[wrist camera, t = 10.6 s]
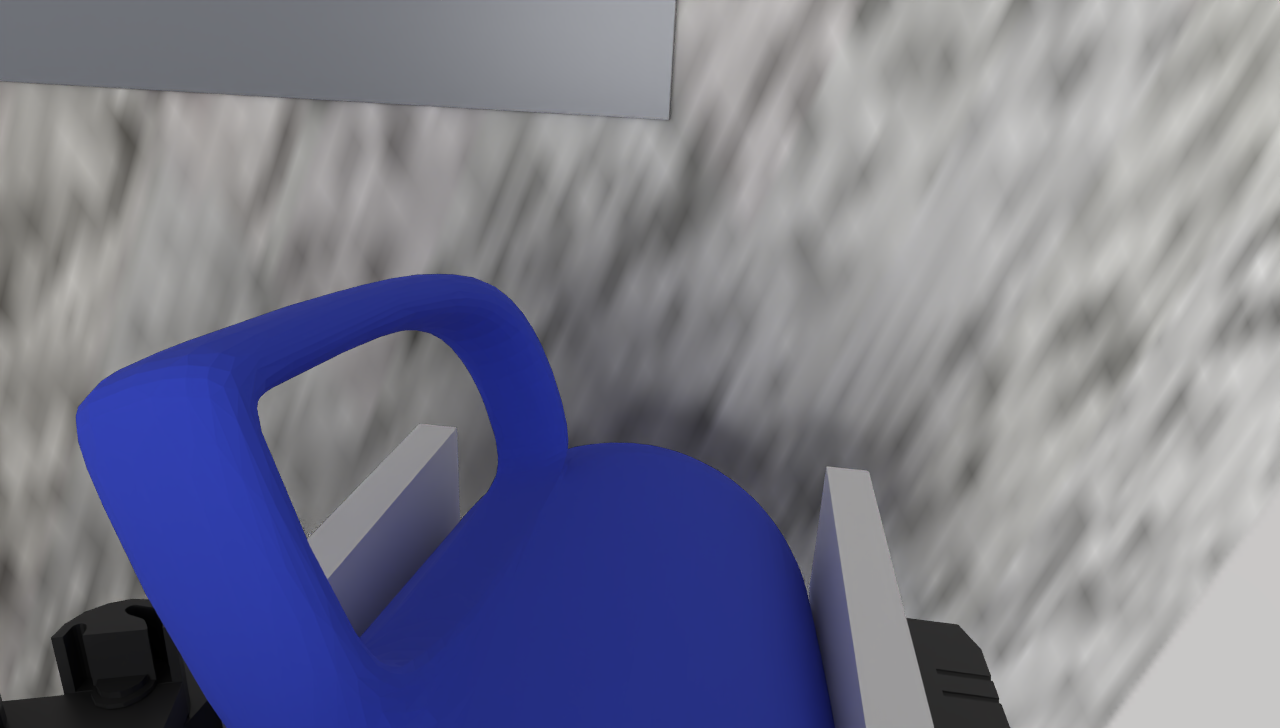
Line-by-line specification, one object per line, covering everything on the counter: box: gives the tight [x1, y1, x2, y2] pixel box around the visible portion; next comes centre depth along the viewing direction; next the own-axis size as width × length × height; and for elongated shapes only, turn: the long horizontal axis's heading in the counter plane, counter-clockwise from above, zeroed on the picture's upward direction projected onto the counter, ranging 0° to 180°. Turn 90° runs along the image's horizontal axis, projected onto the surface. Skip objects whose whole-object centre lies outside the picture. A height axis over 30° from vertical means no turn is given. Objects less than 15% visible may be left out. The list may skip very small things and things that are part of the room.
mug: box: [76, 274, 835, 728], centre depth 12 cm, size 8×12×10 cm
